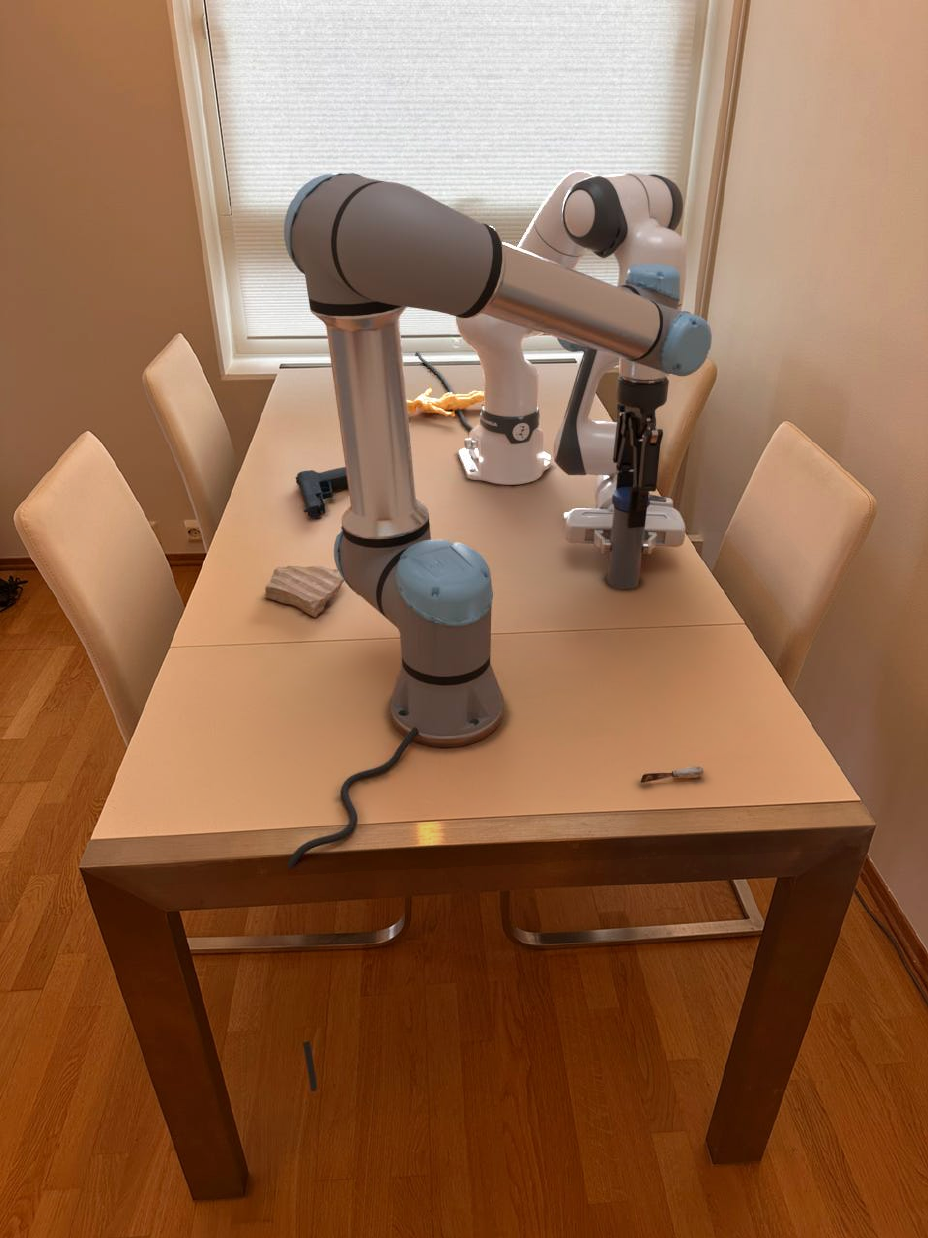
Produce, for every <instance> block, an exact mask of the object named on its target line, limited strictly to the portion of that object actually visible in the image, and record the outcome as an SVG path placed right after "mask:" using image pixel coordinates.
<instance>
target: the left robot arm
mask: <svg viewBox="0 0 928 1238" xmlns="http://www.w3.org/2000/svg"><path fill="white" fill-rule="evenodd" d="M283 237H284V244H285V248H286V251H287V253H288V256H289V258H290V260H291V261H292V262H293V264H294V265H295V267H296V268H297V269H298V271H299V272H301V273H302V274H304V277H305V284H306V285H305V286H306V291H307V298H308V303H309V311H310V313H311V314H313V315H314V316H316V318H317V319H319V320H320V321H321V322H323V324H324V325H325V329H326V330H325V331H326V336H327V343H328V351H329V359H330V365H331V373H332V379H333V386H334V393H335V400H336V401H335V402H336V409H337V416H338V422H339V429H340V430H339V431H340V437H341V444H342V452H343V459H344V465H345V466H344V467H346V474H347V481H348V488H347V489H348V494H349V501H350V506H348V508H347V509H346V510H345V511H344V512H343V514H342V515H341V527H340V529H341V531H340V532H339V534H336V537H335V541H334V544H333V545H334V546H333V558H334V563H335V567H336V569H337V570H338V574H339V575H341V576H342V578H343V579H344V582H345V583H346V585H347V586H348V587H349V588H350V589H351V590H352V591H353V592H354V593H355V594H356V595H358V596H359V597H361V598H362V599H363V600H364V601H365V602H367V603H368V604H369V605H370V606H371V607H373V608H374V609H375V610H376V611H377V612H379V614H381V615H382V616H383V617H384V618H385V619H387V621H389V622H390V623H391V624H392V625H393V626H395V627H396V628H397V630H398V633H399V635H400V655H401V667H400V669H399V672H398V675H397V678H396V681H395V684H394V687H393V690H392V693H391V696H390V700H389V706H390V718H391V721H392V724H393V725H394V727H395V728H396V729H397V731H398V732H399V733H400V734H402V735H403V736H404V737H405V738H404V739H403V740H402V741H401V743H400V744H399V746H398V747H397V749H396V750H395V752H394V754H393V755H392V756H391V758H390V759H389V760H388V761H386V762H385V763H384V764H381V765H379V766H377V767H374V768H370V769H366V770H363V771H360V772H357V773H354V774H353V775H350V776H349V777H347V778H346V780H345V781H344V782H343V784H342V786H341V788H340V798H341V801H342V803H343V805H344V807H345V809H346V811H347V814H348V817H349V820H348V823H347V825H346V826H345V827H344V828H343V829H342V830H339V831H338V832H336V833H332V834H328V835H324V836H321V837H317V838H314V839H311V840H308V841H307V842H304V843H303V844H302V845H300V846H299V847H298V848H297V849H296V850H295V851H294V852H293V853H292V855H291V856H290V858H289V860H288V862H287V864H286V866H287V868H290V869H291V868H294V867H295V866H297V863H298V862H299V860H300V859H301V858H302V857H303V855H305V854H306V853H307V852H309V851H310V850H312V849H315V848H319V847H321V846H325V845H329V844H332V843H336V842H340V841H342V840H343V839H346V838H347V837H348V836H350V835H351V834H352V833H353V831H354V830H355V828H356V827H357V822H358V814H357V811H356V809H355V806H354V805H353V803H352V801H351V799H350V796H349V789H350V788H351V787H352V785H353V784H355V783H356V782H358V781H362V780H364V779H367V778H370V777H371V778H372V777H375V776H378V775H381V774H384V773H386V772H387V771H389V770H391V769H392V768H393V767H394V766H395V765H396V764H397V763H398V762H399V760H400V759H401V758H402V756H403V754H404V752H405V751H406V749H407V748H408V747H409V746H410V744H411V743H412V741H413V742H415V743H417V744H420V745H421V744H422V745H425V746H430V747H437V748H454V747H455V748H457V747H463V746H467V745H471V744H473V743H476V742H480V741H481V740H483V739H485V738H486V737H488V736H489V735H491V734H492V733H493V732H494V731H495V730H496V729H498V727H499V726H500V724H501V722H502V720H503V717H504V696H503V693H502V690H501V687H500V685H499V682H498V679H497V677H496V674H495V672H494V668H493V666H492V664H491V654H492V653H491V651H492V649H491V648H492V647H491V645H492V611H493V610H492V608H493V607H492V605H493V599H494V590H493V583H492V574H491V568H490V566H489V564H488V563H487V560H486V559H485V558H484V556H482V555H481V554H480V553H479V551H477V550H476V549H474V548H472V547H471V546H469V545H467V544H465V543H462V542H458V541H456V542H454V543H452V542H451V541H450V540H449V539H440V538H439V539H432V536H431V534H432V533H431V524H430V513H429V509H428V506H426V505H425V504H424V503H423V502H421V501H419V499H417V497H416V489H415V488H416V487H415V486H416V485H415V477H414V475H415V474H414V466H413V454H412V444H411V443H412V442H411V431H410V422H409V421H410V420H409V412H408V410H407V400H408V399H407V389H406V378H405V367H404V357H403V348H402V347H403V346H402V345H403V344H402V336H401V335H402V334H401V325H400V318H401V315H402V314H403V313H404V312H405V311H406V309H407V308H411V309H413V308H414V309H419V310H425V311H432V312H437V313H441V314H446V315H449V316H453V317H455V318H456V317H459V318H463V319H470V318H473V317H476V316H477V315H479V314H483V315H486V316H489V317H493V318H496V319H499V320H502V321H505V322H509V323H512V324H515V325H518V326H521V327H525V328H528V329H531V330H534V331H537V332H541V333H544V334H543V335H547V336H550V337H554V338H556V340H557V341H558V343H559V345H560V346H561V347H562V348H563V349H564V350H566V351H568V352H571V353H576V352H577V353H578V352H582V353H584V352H586V351H588V350H590V349H595V350H598V351H601V352H605V353H608V354H611V355H614V356H617V357H619V365H618V367H617V368H618V369H617V372H618V374H619V376H618V378H617V385H616V395H615V399H616V401H617V405H616V414H617V416H616V417H617V418H616V422H617V426H616V435H615V445H614V454H613V462H614V463H617V465H616V469H617V471H619V473H617V483H616V489H618V488H621V487H631V488H629V490H630V492H631V493H630V503H629V513H628V523H627V527H628V528H636V527H645V521H646V513H647V504H648V495H649V493H651V492H656V491H657V484H658V474H659V463H660V452H661V444H662V440H663V437H664V430H663V429H662V428H657V417H656V411H657V409H658V408H660V407H662V406H664V405H665V404H666V403H667V401H668V393H669V384H670V380H669V379H668V376H670V375H674V376H677V377H687V376H691V375H693V374H694V373H696V372H697V371H698V370H699V369H700V368H701V367H702V366H703V365H704V363H705V362H706V360H707V358H708V355H709V351H710V350H711V348H712V347H711V346H712V340H713V337H712V330H711V327H710V325H709V323H708V321H707V320H706V319H704V318H703V317H702V316H699V315H696V314H693V313H691V312H690V311H688V310H681V311H679V310H678V302H679V301H680V298H679V292H680V273H679V271H678V270H677V269H676V268H674V267H671V266H667V265H661V264H640V265H635V266H633V267H631V268H630V269H629V270H628V272H627V279H626V280H625V284H626V285H622V286H620V287H617V286H616V285H614V284H612V283H608V282H606V281H603V280H601V279H599V278H596V277H593V276H590V275H588V274H586V273H583V272H581V271H578V270H576V269H575V270H573V269H570V268H568V267H565V266H563V265H560V264H558V263H555V262H552V261H550V260H547V259H545V258H542V257H540V256H537V255H535V254H532V253H529V252H527V251H524V250H522V249H519V248H517V247H518V246H517V247H516V246H514V245H512V244H509V243H506V242H503V238H502V237H501V234H500V233H499V231H498V230H497V229H496V228H494V227H493V226H491V225H490V224H487V223H484V222H482V221H479V220H477V219H475V218H473V217H470V216H469V215H467V214H465V213H463V212H462V211H459V210H457V209H455V208H452V207H451V206H449V205H447V204H445V203H443V202H441V201H440V200H437V199H435V198H434V197H433V196H431V195H428V194H427V193H424V192H422V191H420V190H418V189H416V188H414V187H413V186H409V185H406V184H403V183H399V182H394V181H387V180H386V181H385V180H380V179H375V178H370V177H366V176H362V175H360V174H358V173H355V172H348V173H344V172H343V173H342V172H339V173H327V174H322V175H318V176H316V177H314V178H312V179H310V180H309V181H308V182H306V183H305V184H303V185H302V186H301V188H299V190H298V191H297V193H295V195H294V197H293V199H291V201H290V203H289V205H288V208H287V210H286V214H285V217H284V223H283ZM642 439H643V441H640V440H642ZM630 470H634V471H631V472H630ZM302 1047H303V1053H304V1059H305V1063H306V1069H307V1075H308V1082H309V1089H310V1091H311V1092H316V1091H317V1090H318V1083H317V1077H316V1076H317V1075H316V1069H315V1063H314V1057H313V1052H312V1047H311V1040H308V1041H304V1042H302Z"/></svg>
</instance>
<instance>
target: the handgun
mask: <svg viewBox="0 0 928 1238" xmlns="http://www.w3.org/2000/svg"><path fill="white" fill-rule="evenodd" d="M295 482H296V485H297V486H298V487H299V491H300V494H301V497H302V501H303V504H304V507H305V509H303V511H302V512H304V513H307V517H309V518H310V519H320V518H321V516H322V513H323V515H325V513H326V505H325V500H328V499H332V498H333V492H338V491H341V490H342V491H343V490H345V489H349V488H348V481H347V474H346V467H345V466H342V467H337V468H333V469H329V470H325V471H322V472H317V471H316V470H313V469H312V470H310V469H309V470H301V471H299V472H298V473H297V474H296V476H295Z"/></svg>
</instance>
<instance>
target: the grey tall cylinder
mask: <svg viewBox="0 0 928 1238" xmlns="http://www.w3.org/2000/svg"><path fill="white" fill-rule="evenodd" d="M628 513H629V511H626V510H622V509H619V508H617V507H615V506H614V507H613V518H612V529H611V540H610V542H611V548H610V552H608V563H607V572H606V573H607V574H606V575H607V576H606V583H607V584H608V585H609V586H610V587H612V588H615V589H618V590H632V589H635V588H636V587H637V586H638V585H640V584H639V583H640V574H641V565H642V558H643V557H642V556H643V554H642V549H643V540H644V531H645V527H636V528H628V527H627V523H628ZM646 514H647V513H646ZM645 522H646V521H645Z"/></svg>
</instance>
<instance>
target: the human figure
mask: <svg viewBox="0 0 928 1238" xmlns="http://www.w3.org/2000/svg"><path fill="white" fill-rule="evenodd" d="M424 391H425V392H423V393H422V394H420V395H418V396H416V398H415V399H414V400H408V399H407V410H408V413H410V414H412V413H414V412H417V408H418V409H420V410H421V411H423V412H424V413H427V414H439V415H443V416H444V417H449V416H450V417H451V418H452V417H453V418H454V417H455V416H456V414H455V411H457V409H461V411H462V410H464V409H467V408H469V407H471V406H473V405H476V404H478V403H481V402H484V391H478V390H473V391H470V392H469V393H468V394H460V393H457V394H455V393H454V392H453V393H454V394H453V393H449V392H446V393H444V394H443V395H442V396H441V397H440V398H434V397H429V396H430V395H432V394H433V392H434V391H433V389H432V385H429V387H428V389H424ZM450 410H452V411H450Z"/></svg>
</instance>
